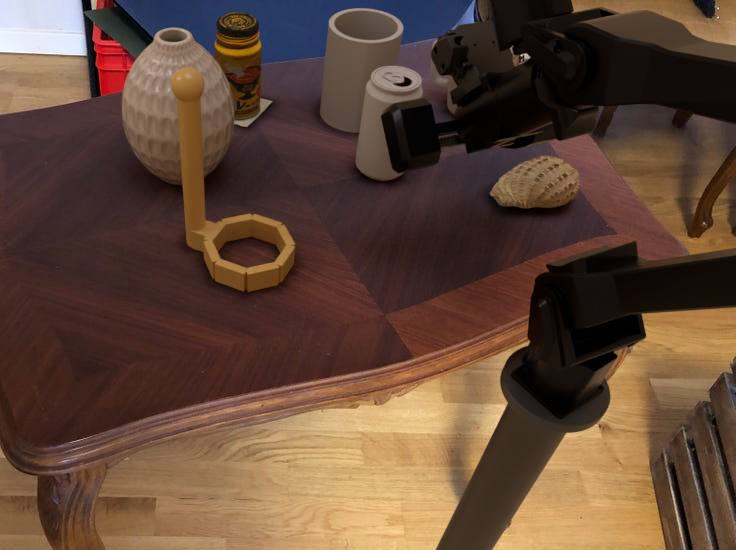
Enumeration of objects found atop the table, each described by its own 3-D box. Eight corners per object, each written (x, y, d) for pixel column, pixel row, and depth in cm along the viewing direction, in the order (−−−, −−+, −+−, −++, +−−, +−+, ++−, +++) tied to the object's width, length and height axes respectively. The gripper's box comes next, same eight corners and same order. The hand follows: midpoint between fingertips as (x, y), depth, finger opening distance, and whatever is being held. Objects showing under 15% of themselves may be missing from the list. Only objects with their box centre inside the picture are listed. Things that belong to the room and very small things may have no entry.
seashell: (528, 246, 84) (591, 190, 84) (528, 217, 78) (595, 158, 79) (480, 211, 88) (540, 158, 88) (477, 182, 82) (541, 125, 83)
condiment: (247, 128, 93) (248, 38, 84) (192, 110, 96) (187, 21, 87) (272, 103, 97) (276, 14, 88) (219, 86, 100) (217, -2, 91)
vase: (247, 193, 84) (249, 57, 72) (140, 210, 82) (122, 72, 69) (220, 134, 92) (217, 2, 79) (121, 148, 90) (102, 14, 77)
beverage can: (386, 191, 85) (404, 98, 76) (343, 169, 88) (356, 77, 79) (415, 168, 88) (436, 76, 79) (373, 147, 91) (389, 57, 82)
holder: (304, 248, 78) (321, 76, 63) (269, 301, 73) (278, 127, 58) (204, 214, 82) (197, 43, 66) (163, 262, 76) (145, 89, 61)
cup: (385, 136, 93) (402, 46, 84) (316, 128, 94) (325, 38, 84) (388, 99, 99) (404, 12, 89) (323, 93, 99) (332, 5, 90)
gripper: (590, -6, 64) (486, 59, 79) (411, 19, 59) (336, 84, 74) (613, 117, 65) (506, 158, 80) (439, 152, 60) (360, 190, 75)
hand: (429, 145), depth 77 cm, fingers open, 9 cm apart
